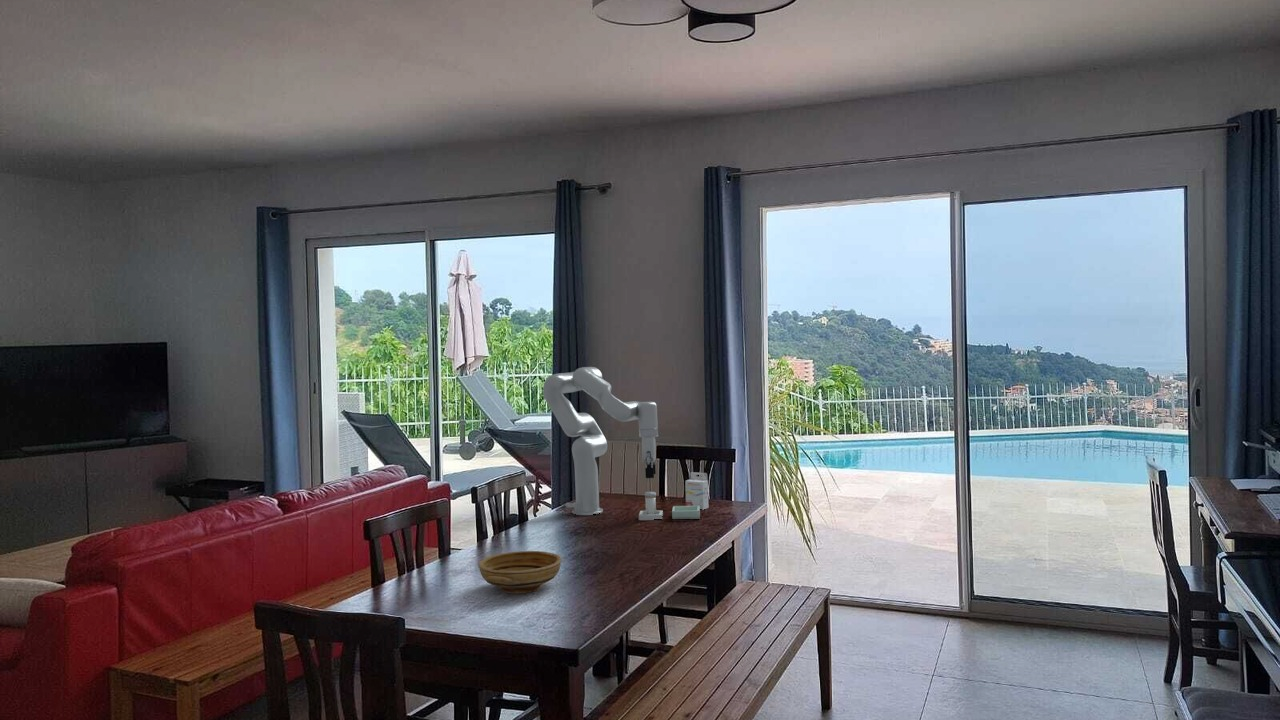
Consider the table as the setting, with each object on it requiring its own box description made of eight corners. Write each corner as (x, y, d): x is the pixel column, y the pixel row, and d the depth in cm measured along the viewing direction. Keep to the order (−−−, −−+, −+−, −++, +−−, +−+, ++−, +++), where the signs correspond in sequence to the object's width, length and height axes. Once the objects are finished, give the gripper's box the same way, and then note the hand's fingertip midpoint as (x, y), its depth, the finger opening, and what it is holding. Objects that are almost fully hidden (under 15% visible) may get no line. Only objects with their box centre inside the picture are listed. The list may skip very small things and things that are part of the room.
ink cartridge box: (685, 508, 367) (684, 473, 366) (691, 506, 371) (690, 471, 370) (703, 510, 362) (702, 474, 362) (709, 508, 366) (708, 472, 366)
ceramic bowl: (509, 572, 274) (508, 546, 274) (580, 577, 265) (579, 550, 265) (457, 599, 246) (456, 571, 246) (534, 606, 238) (533, 576, 238)
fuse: (645, 519, 348) (644, 493, 348) (645, 516, 352) (645, 491, 352) (656, 518, 348) (655, 493, 347) (656, 516, 352) (656, 491, 352)
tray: (672, 520, 344) (672, 511, 344) (673, 514, 355) (673, 506, 354) (699, 519, 343) (699, 510, 343) (699, 514, 354) (699, 505, 354)
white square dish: (638, 520, 346) (638, 515, 346) (640, 515, 355) (640, 510, 355) (661, 520, 345) (661, 514, 345) (662, 515, 354) (662, 510, 354)
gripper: (640, 431, 358) (643, 473, 358) (637, 435, 341) (639, 479, 341) (659, 430, 357) (661, 472, 358) (656, 434, 340) (658, 479, 340)
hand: (650, 476), depth 349 cm, fingers open, 9 cm apart
